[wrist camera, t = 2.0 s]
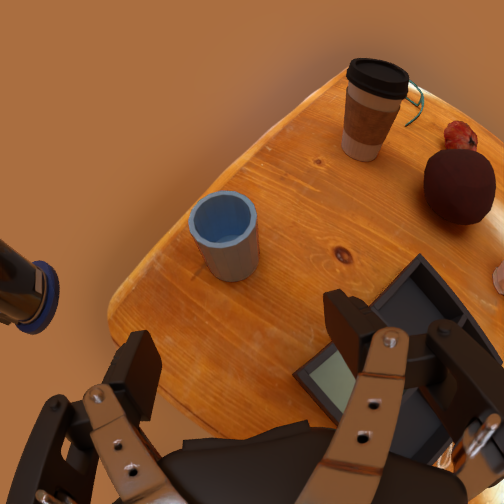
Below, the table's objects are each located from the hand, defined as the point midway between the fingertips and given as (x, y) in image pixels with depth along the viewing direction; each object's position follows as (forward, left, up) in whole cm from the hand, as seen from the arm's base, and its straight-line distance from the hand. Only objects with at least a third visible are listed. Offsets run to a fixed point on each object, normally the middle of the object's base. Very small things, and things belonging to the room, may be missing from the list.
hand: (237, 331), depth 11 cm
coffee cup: (+31, +13, -16) cm, 37 cm away
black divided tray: (+11, -13, -16) cm, 23 cm away
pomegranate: (+50, +2, -16) cm, 52 cm away
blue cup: (+5, +10, -16) cm, 19 cm away
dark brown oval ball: (+34, -3, -16) cm, 37 cm away
